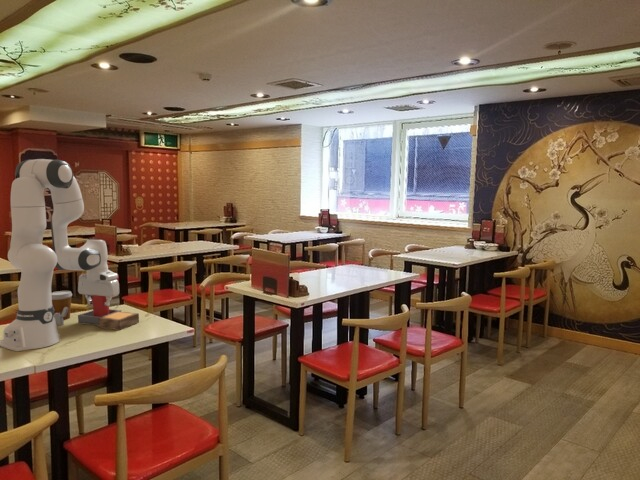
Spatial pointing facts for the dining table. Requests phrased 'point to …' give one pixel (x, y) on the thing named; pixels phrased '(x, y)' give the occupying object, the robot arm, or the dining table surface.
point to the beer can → (100, 306)
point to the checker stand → (118, 321)
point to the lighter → (60, 317)
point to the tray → (91, 317)
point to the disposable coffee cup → (61, 302)
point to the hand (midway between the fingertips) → (98, 305)
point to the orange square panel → (118, 315)
